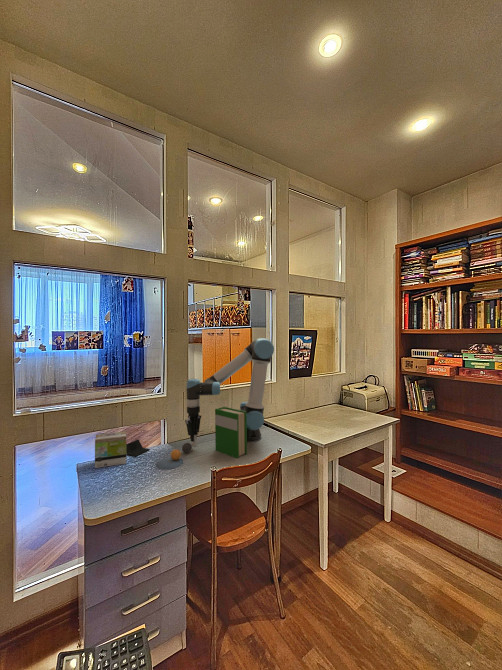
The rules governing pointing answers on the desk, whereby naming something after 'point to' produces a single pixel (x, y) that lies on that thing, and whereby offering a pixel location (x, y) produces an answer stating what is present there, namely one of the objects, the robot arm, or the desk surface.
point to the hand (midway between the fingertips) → (193, 446)
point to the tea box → (110, 449)
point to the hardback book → (231, 431)
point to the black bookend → (135, 448)
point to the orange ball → (175, 454)
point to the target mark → (169, 463)
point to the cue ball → (186, 447)
